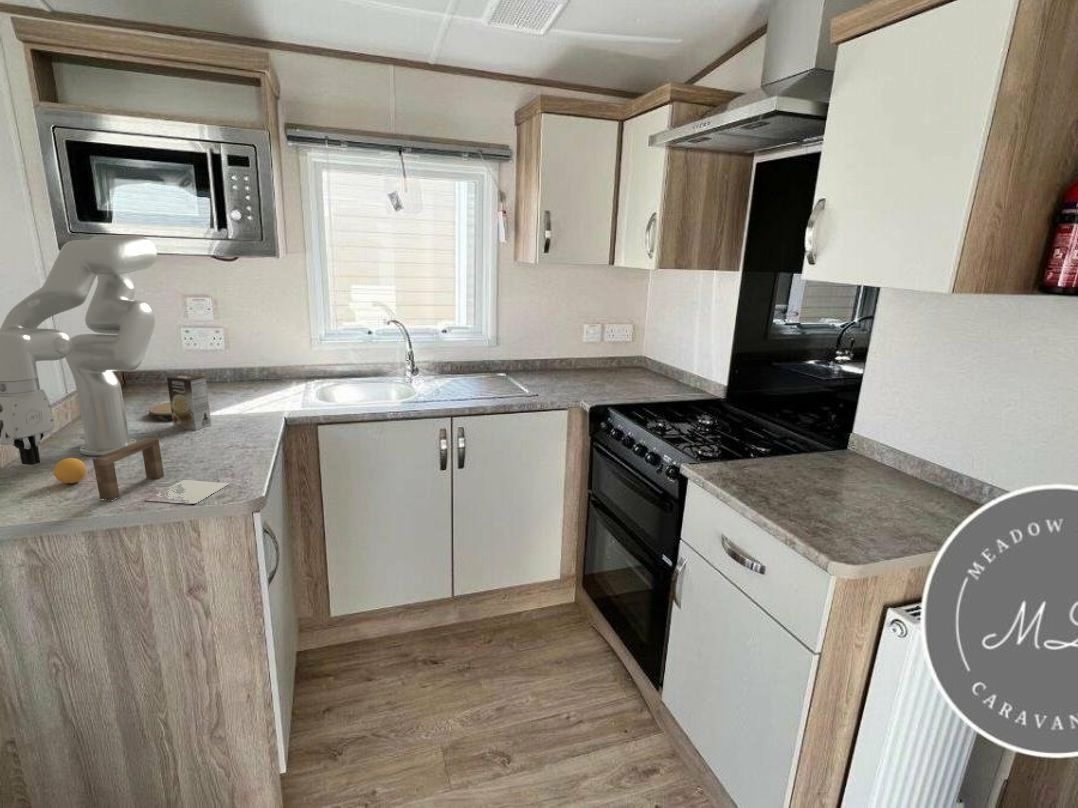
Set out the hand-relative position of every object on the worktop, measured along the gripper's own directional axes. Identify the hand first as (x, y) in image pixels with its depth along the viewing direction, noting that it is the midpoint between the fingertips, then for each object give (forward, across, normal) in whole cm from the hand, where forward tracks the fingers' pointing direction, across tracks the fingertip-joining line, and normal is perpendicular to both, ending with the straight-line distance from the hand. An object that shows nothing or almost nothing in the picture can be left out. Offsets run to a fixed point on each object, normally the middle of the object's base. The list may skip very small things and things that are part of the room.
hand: (31, 463), depth 134 cm
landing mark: (+5, +1, -39) cm, 39 cm away
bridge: (+5, +1, -25) cm, 25 cm away
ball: (+2, +1, -9) cm, 9 cm away
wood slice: (+3, +57, +9) cm, 58 cm away
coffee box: (+3, +47, -5) cm, 47 cm away
